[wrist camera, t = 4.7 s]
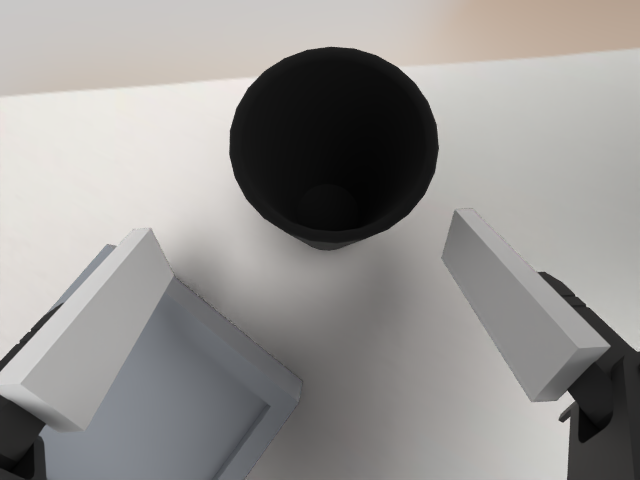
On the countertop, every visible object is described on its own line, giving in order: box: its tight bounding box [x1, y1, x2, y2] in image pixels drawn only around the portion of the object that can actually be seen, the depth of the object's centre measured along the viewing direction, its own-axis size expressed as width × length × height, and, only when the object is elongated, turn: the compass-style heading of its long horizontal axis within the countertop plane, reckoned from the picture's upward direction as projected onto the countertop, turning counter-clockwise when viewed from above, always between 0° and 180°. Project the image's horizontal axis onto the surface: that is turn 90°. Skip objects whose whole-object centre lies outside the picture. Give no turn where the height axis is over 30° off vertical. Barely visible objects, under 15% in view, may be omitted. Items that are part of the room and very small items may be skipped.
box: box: [39, 244, 303, 480], centre depth 18 cm, size 16×16×4 cm
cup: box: [229, 47, 439, 250], centre depth 16 cm, size 8×8×12 cm
